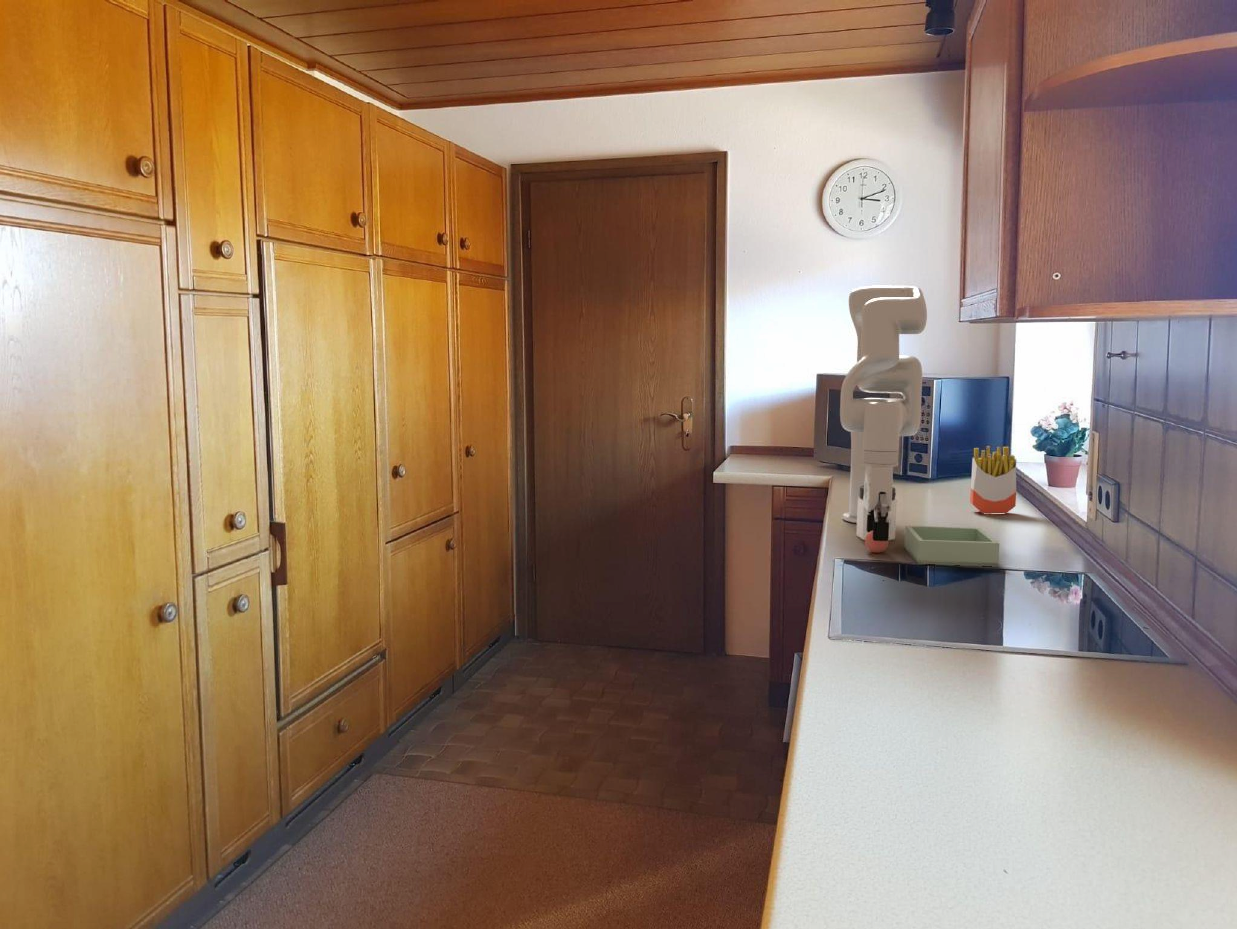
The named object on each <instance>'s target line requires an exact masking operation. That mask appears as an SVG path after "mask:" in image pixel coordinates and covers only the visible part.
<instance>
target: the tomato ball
mask: <svg viewBox="0 0 1237 929" xmlns="http://www.w3.org/2000/svg"><path fill="white" fill-rule="evenodd" d="M889 542H890V540H888V541H874V540H873V531H871V532H869V533H868V534H867V536H866V538H865V540H864V544H865V546H866V549H868V550H869V551H870V552H872V553H876V554H878V553H883V552H884V551H886V550H887V548H888V546H889Z"/></svg>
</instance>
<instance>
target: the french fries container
mask: <svg viewBox="0 0 1237 929" xmlns="http://www.w3.org/2000/svg"><path fill="white" fill-rule="evenodd" d="M996 448H997V449H996V451H993V452H992V454H991V446H989V445H987V446H986V448H985V449H986V450H982V449H981V454H980V450H979V449H980V448H979V447H974V448H973V457H972V459H971V460H972V461H971V478H970V481H971V482H970V497H969V498H970V499H969V500H970V504H971V505H973V507H975V509H976V510H978V512H980V513H981V514H982V513H1006V514H1008V513H1009V512H1010V511H1011V510H1013V509H1014V508H1015V507H1016V506H1017V505H1016V504H1017V503H1016V502H1017V459H1016V458H1015V457H1016V456H1015V455H1011V454H1010V446H1002V447H1001V446H997V447H996ZM1001 449H1002V450H1001ZM979 455H980V456H979Z"/></svg>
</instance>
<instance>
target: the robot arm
mask: <svg viewBox="0 0 1237 929" xmlns="http://www.w3.org/2000/svg"><path fill="white" fill-rule="evenodd" d="M848 310H849V315H850V317H851V322H852V324H853V326H854V329H855V333H856V339H857V350H856V351H857V352H856V364H854V365H853V366H852V368H851V369H849V371H848V372H847V374H846V376H845V377H844V379H843V382H842V386H841V389H840V405H839V406H840V407H839V418H840V425H841V426H842V428H843V429H844V430H845V431H847V432H850V440H851V441H850V442H851V443H850V444H851V445H850V447H851V448H850V450H851V451H850V474H849V476H850V477H849V478H850V480H849V481H850V482H849V505H848V506H849V507H848V512H844V513H843V514H842V520H844V521H846V522H850V523H854V524H855V523H856V524H857V507H858V497H859V495H860V487H861V486H864V497H863V506H864V507H865V508H866V509H867V510H868V514H867V532H871V531H873V540H874V541H888V538H889V516H888V512H889V511H890V510H891V505H892V487H893V484H894V483H893V480H894V479H893V476H894V475H893V474H894V468H895V467H899V458H900V457H899V455H900V454H899V453H900V451H899V450H900V437H911V436H915V435H916V434H917V433H918V432H919V430H920V426H921V417H922V390H923V368H922V367H923V366H922V364H921V361H920V360H919V359H918V358H917V357H916V356H914V355H906V354H905V355H901V354H900V335H919V334H922V333H923V331H924V330H925V328H926V326H927V322H928V321H927V320H928V312H927V310H928V309H927V303H926V299H925V296H924V293H923V291H922V289H921V288H920V287H918V286H913V285H894V286H893V285H872V286H871V285H870V286H860V287H858V288H854V289H853V290H852V291H850V293H849V296H848ZM856 387H858V389H859V390H860V391H862V392H865V393H870V394H871V393H873V394H875V393H876V394H878V393H879V394H900V395H901V396H902V397H903V398H887V397H866V398H854V391H855V388H856Z"/></svg>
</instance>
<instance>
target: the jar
mask: <svg viewBox="0 0 1237 929" xmlns="http://www.w3.org/2000/svg"><path fill="white" fill-rule="evenodd" d="M896 493H897V492H896V488H895V487H893V486H892V505H891V510H890V511H889V512H888V516H889V538H888V540H889V541H894V540H895V539H896V523H897V505H898V504H897V502H898V501H897V499H896V496H897V495H896ZM863 497H864V486H861V487H860V495H859V497H858V507H857V523H856V533H855V534H856V537H857V538H858V537H859V538H860V540H863V541H865V538H866V536H867V534H868V533H869V532H867V514H868V510H867V509H866V508H865V507H864V506H863Z"/></svg>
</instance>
